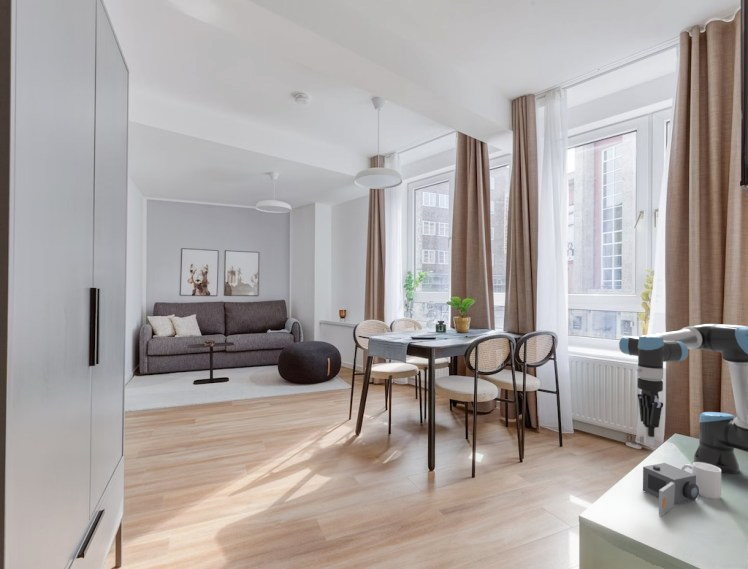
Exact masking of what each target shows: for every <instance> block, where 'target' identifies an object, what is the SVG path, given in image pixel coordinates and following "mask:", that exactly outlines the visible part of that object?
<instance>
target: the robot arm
mask: <svg viewBox="0 0 748 569" xmlns="http://www.w3.org/2000/svg"><path fill="white" fill-rule="evenodd" d="M618 342H619V343H618V348H619V350H620V352H621V353H623V354H625V355H629V356H636V357H637V362H638V363H637V368H636V371H637V377H638V378H637V388H638V389H639V390H641V393H637V400H638V407H639V417H640V422H642V424H643V427H644V428H643V444H644V445H645V446H653V447H654V446H655V431H656V428H659V427H660V420H661V414H662V409H663V407H664V402H661V401H660V396H659V393H661V392H663V391H664V381H663V380H664V363H665V362H666V363H668V362H673V363H674V362H675V363H677V362H682V361H684V360H686V359H687V358H688V356H689V350H702V351H703V350H704V351H710V352H714V353H720V354H721V358H722V360H723V361H725V362H726V363H727V365H728V370H729V371H728V372H729V376H730V382H731V388H732V392H733V393H732V394H733V400H734V406H735V411H736V416H735V415H733V414H731V413H728V412H717V411H716V412H715V411H704V412H701V413H700V415H699V421H698V423H699V425H698V427H699V431H698V432H699V433H698V435H699V436H698V437H699V439H698V440H699V441H698V442H699V443H698V446H697V449H696V450H695V452H694V456H693V461H694V462H702V463H707V464H711V465H714V466H716V467H718V468H720V469H721V473H726V474H737V473H739V472H740V465H739V462H738V460H737V456H736V455H735V449H737V450H739V451H742V452H747V453H748V326H747V325H737V324H724V323H723V324H719V323H703V324H697V325H691V326H686V327H685V326H684V327H682V328H681V329H680V330H675V331H667V332H662V333H654V334H648V335H646V334H645V335H643V334H642V335H639V336H633V335H624V336H622V337H621V338H620V339H619V341H618ZM694 462H693V463H694Z"/></svg>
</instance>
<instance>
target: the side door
mask: <svg viewBox="0 0 748 569" xmlns="http://www.w3.org/2000/svg"><path fill="white" fill-rule="evenodd" d="M675 506H676V505H675V482H670V483H669V484H667V485H666V486H665V487H663V488H662V489H660V490H659V498H658V515H659V516H664V515H665V514H666V513H668V512H669V511H670V510H671V509H672V508H674V507H675Z"/></svg>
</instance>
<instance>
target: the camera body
mask: <svg viewBox="0 0 748 569" xmlns="http://www.w3.org/2000/svg"><path fill="white" fill-rule="evenodd" d="M681 469H682V468H679V467H676V466H674V465H671V464H668V463H666V462H662V463H657V464H652V465H651V464H650V465H645V466H643V467H642V491H643V492H644V491H645V493H647V494H649V495H651V496H653V497H655V498H657V499H659V490H660V489H662V488H663V487H665V486H666V485H667V484H669V483H670V482H675V506H677V505H682V504H686V503H689V502H694V501H696V500H697V499H698V497H699V495H698V494H699V488H698V486H697V485H696V475H694V474H692V473H691V472H689V471H687V470H685V471H684V470H681Z"/></svg>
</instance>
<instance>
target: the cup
mask: <svg viewBox="0 0 748 569" xmlns="http://www.w3.org/2000/svg"><path fill="white" fill-rule="evenodd" d="M687 468H688V469H691V470H692V473H691V474H694V475H696V485H697V486H698V488H699V494H698V496H701V497H703V498H706V497H707V499H710V498H711V500H719V499H721V496H722V472H721V469H720V468H718V467H716V466H714V465H711V464H707V463H702V462H693V463H692V465H691V464H688V463H686V464H683V465H682V467H681V468H680V469H681V470H684V471H686V469H687Z"/></svg>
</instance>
